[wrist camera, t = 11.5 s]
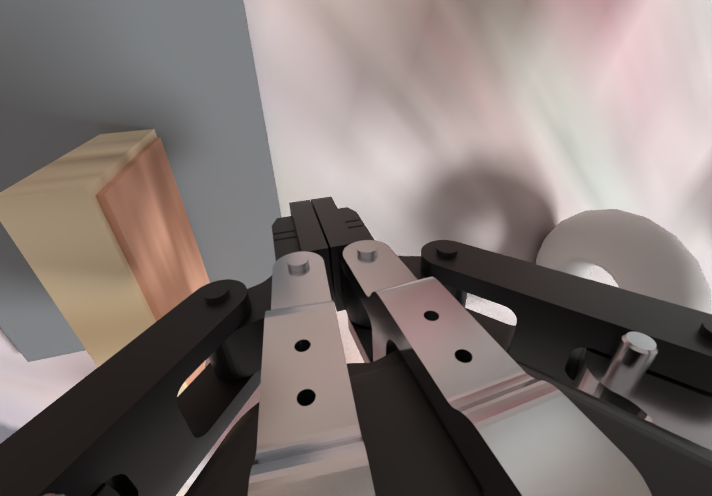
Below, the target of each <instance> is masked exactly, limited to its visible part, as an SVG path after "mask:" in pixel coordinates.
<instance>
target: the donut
mask: <svg viewBox="0 0 712 496" xmlns="http://www.w3.org/2000/svg"><path fill="white" fill-rule="evenodd" d="M536 265H540V266H543V267H547V268H550V269H554V270H557V271H561V272H564V273H568V274H571V275H575V276H579V277H582V278H586V279H589V280H590V278H591V273H592V270H593V268H594V266H596V265H597V266H600V267H602V268H603V269H604V270H606V271H607V272H608V273H609V274H610V275H611V276H612V277H613V279H614V280H615V281H616V283H617V284H618V286H619V288H621V289H624V290H628V291H631V292H635V293H639V294H642V295H646V296H649V297H653V298H656V299H660V300H663V301H667V302H670V303H674V304H677V305H681V306H684V307H688V308H691V309H695V310H698V311H702V312H706V313H709V314H712V300H711V290H710V288H709V285H708V283H707V281H706V279H705V277H704V274H703V272H702V270H701V268H700V265H699V263H698V261H697V260H696V259H695V257H694V256H693V255H692V254H691V253H690V252H689V251H688V250H687V248H686V247H685V246H684V245H683V244H682V243H681V242H680V240H679V239H678V238H677V237H676V236H675V235H673V234H672V233H670V232H668V231H667V230H665V229H664V228H662V227H661V226H659V225H657V224H656V223H654V222H653V221H651V220H650V219H647V218H645V217H643V216H639V215H635V214H632V213H628V212H625V211H621V210H617V209H608V210H591V211H584V212H581V213H579V214H577V215H574V216H572V217H570V218H568V219H566V220H563V221H561V222H560V223H559V224H558V225H557V226H556V227H555V228H554V229H553V230H552V231H551V232H550V233H549V234H548V235H547V236H546V237H545V239H544V241H543V243H542V245H541V248H540V250H539V252H538V254H537V258H536Z"/></svg>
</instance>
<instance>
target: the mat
mask: <svg viewBox="0 0 712 496" xmlns="http://www.w3.org/2000/svg"><path fill="white" fill-rule="evenodd" d="M148 129H155V132H156V135H157V138H160V137H161V140H162V143H163V146H164V149H165V152H166V155H167V158H168V161H169V164H170V167H171V170H172V173H173V175H174V178H175V181H176V184H177V187H178V190H179V193H180V196H181V199H182V202H183V205H184V208H185V211H186V213H187V216H188V219H189V222H190V225H191V228H192V231H193V234H194V237H195V240H196V243H197V246H198V249H199V251H200V254H201V257H202V260H203V263H204V266H205V269H206V272H207V275H208V278H209V281H210V283H211V282H214V281H218V280H226V279H231V280H237V281H240V282H242V283H243V284H244V285H245V286H246V288H247V289H248V288H251V287H253V286H256V285H258V284H260V283H262V282H264V281H265V280H267V279H268V278H269V277H270V276H272V270H273V265H274V263H275V262H276V259H275V250H274V242H273V234H272V225H273V223H274V222H275V220H276V219H277V218H281V212H280V207H279V201H278V195H277V190H276V184H275V178H274V173H273V167H272V161H271V156H270V150H269V144H268V139H267V133H266V127H265V122H264V116H263V110H262V105H261V99H260V93H259V88H258V82H257V76H256V71H255V65H254V59H253V54H252V48H251V42H250V37H249V31H248V25H247V20H246V14H245V8H244V3H243V0H0V192H2V191H4V190H5V189H7V188H9V187H11V186H12V185H14V184H16V183H17V182H19V181H21V180H22V179H24V178H26V177H28V176H29V175H31V174H33V173H34V172H36V171H38V170H40V169H41V168H43V167H45V166H46V165H48V164H50V163H52V162H53V161H55V160H57V159H58V158H60V157H62V156H64V155H65V154H67V153H69V152H70V151H72V150H74V149H76V148H77V147H79V146H81V145H82V144H84V143H86V142H88V141H89V140H91V139H93V138H94V137H96V136H98V135H99V134H107V133H117V132H127V131H137V130H148ZM0 328H1V329H2V330H3V332H4V333H5V334H6V335H7V336H8V338H9V339H10V340H11V341H12V343H13V344H14V345H15V346H16V348H17V349H18V350H19V351H20V352H21V354H22V355H23V356H24V357H25V359H26V360H27V361H28V362H30V361H35V360H40V359H45V358H50V357H55V356H60V355H65V354H69V353H74V352H79V351H84V350H86V349H85V347H84V346H83V344H82V343H81V341H80V340H79V338H78V337H77V335H76V334H75V332H74V331H73V329H72V328H71V326H70V325H69V323H68V322H67V320H66V319H65V317H64V316H63V314H62V313H61V311H60V310H59V308H58V307H57V305H56V304H55V302H54V301H53V299H52V298H51V297H50V295H49V294H48V292H47V291H46V289H45V288H44V286H43V285H42V283H41V282H40V280H39V279H38V277H37V276H36V274H35V273H34V271H33V270H32V268H31V267H30V265H29V264H28V262H27V261H26V259H25V258H24V256H23V255H22V253H21V252H20V250H19V249H18V247H17V246H16V244H15V243H14V241H13V240H12V238H11V237H10V235H9V234H8V232H7V231H6V229H5V228H4V226H3V225H2V223H1V222H0Z"/></svg>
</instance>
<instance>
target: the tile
mask: <svg viewBox="0 0 712 496" xmlns="http://www.w3.org/2000/svg"><path fill="white" fill-rule="evenodd" d="M0 222H1V223H2V225H3V226H4V228H5V229H6V231H7V232H8V234H9V235H10V237H11V238H12V240H13V241H14V243H15V244H16V246H17V247H18V249H19V250H20V252H21V253H22V255H23V256H24V258H25V259H26V261H27V262H28V264H29V265H30V267H31V268H32V270H33V271H34V273H35V274H36V276H37V277H38V279H39V280H40V282H41V283H42V285H43V286H44V288H45V289H46V291H47V292H48V294H49V295H50V297H51V298H52V299H53V301H54V302H55V304H56V305H57V307H58V308H59V310H60V311H61V313H62V314H63V316H64V317H65V319H66V320H67V322H68V323H69V325H70V326H71V328H72V329H73V331H74V332H75V334H76V335H77V337H78V338H79V340H80V341H81V343H82V344H83V346H84V347H85V349H86V350H87V352H88V353H89V355H90V356H91V358H92V359H93V361H94V362H95V364H96V365H97V367H99V366H100V365H102V364H103V363H104V362H106V361H107V360H108V359H109V358H111V357H112V356H113V355H114V354H116V353H117V352H118V351H120V350H121V349H122V348H123V347H125V346H126V345H127V344H129V343H130V342H131V341H132V340H134V339H135V338H136V337H137V336H139V335H140V334H141V333H143V332H144V331H145V330H146V329H148V328H149V327H150V326H151V325H153V324H154V323H155V322H157V321H158V320H159V319H160V318H162V317H163V316H164V315H165V314H167V313H168V312H169V311H171V310H172V309H173V308H174V307H176V306H177V305H178V304H180V303H181V302H182V301H183V300H185V299H186V298H187V297H188V296H190V295H191V294H192V293H194V292H195V291H196V290H198V289H199V288H201V287H202V286H204V285H206V284H209V283H210V281H209V278H208V275H207V272H206V269H205V266H204V263H203V260H202V257H201V254H200V251H199V249H198V246H197V243H196V240H195V237H194V234H193V231H192V228H191V225H190V222H189V219H188V216H187V213H186V211H185V208H184V205H183V202H182V199H181V196H180V193H179V190H178V187H177V184H176V181H175V178H174V175H173V173H172V170H171V167H170V164H169V161H168V158H167V155H166V152H165V149H164V146H163V143H162V140H161V137H160V138H157V135H156V132H155V129H148V130H137V131H127V132H117V133H107V134H99V135H98V136H96V137H94V138H93V139H91V140H89V141H88V142H86V143H84V144H82V145H81V146H79V147H77V148H76V149H74V150H72V151H70V152H69V153H67V154H65V155H64V156H62V157H60V158H58V159H57V160H55V161H53V162H52V163H50V164H48V165H46V166H45V167H43V168H41V169H40V170H38V171H36V172H34V173H33V174H31V175H29V176H28V177H26V178H24V179H22V180H21V181H19V182H17V183H16V184H14V185H12V186H11V187H9V188H7V189H5V190H4V191H2V192H0ZM205 364H206V360H205V361H204V362H203V363H202V364H201V365H200V366H199V367H198V368H197V370H196V371H195V372H194V373H193V374H192V375H191V376H190V377H189V378H188V379H187V380H186V381H185V382H184V383H183V385H182V386H181V388H180V390H179V392H178V395H177V397H178V396H179V395H180V394H181V393H182V392H183V391H184V390H185V389H186V387H187V386H188V385H189V384H190V383H191V382H192V381H193V380H194V379H195V378H196V377H197V376H198V375H199V374H200V373H201V372H202V371H203V370H204V369H205Z"/></svg>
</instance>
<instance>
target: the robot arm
mask: <svg viewBox="0 0 712 496" xmlns="http://www.w3.org/2000/svg"><path fill="white" fill-rule="evenodd" d="M289 204H290V211H291V216H289V217H283V218H277V219H276V220H275V222H274V223H273V225H272V234H273V242H274V250H275V259H276V262H275V263H274V265H273V270H272V276H270V277H269V278H268V279H267V280H265V281H264V282H262V283H260V284H258V285H256V286H253V287H251V288H248V289H247V288H246V286H245V285H244V284H243V283H242V282H240V281H237V280H231V279H226V280H218V281H214V282H211V283H209V284H206V285H204V286H202V287H201V288H199V289H198V290H196V291H195V292H194V293H192V294H191V295H190V296H188V297H187V298H186V299H185V300H183V301H182V302H181V303H180V304H178V305H177V306H176V307H174V308H173V309H172V310H171V311H169V312H168V313H167V314H165V315H164V316H163V317H162V318H160V319H159V320H158V321H157V322H155V323H154V324H153V325H151V326H150V327H149V328H148V329H146V330H145V331H144V332H143V333H141V334H140V335H139V336H137V337H136V338H135V339H134V340H132V341H131V342H130V343H129V344H127V345H126V346H125V347H123V348H122V349H121V350H120V351H118V352H117V353H116V354H114V355H113V356H112V357H111V358H109V359H108V360H107V361H106V362H104V363H103V364H102V365H100V366H99V367H98V368H97V369H95V370H94V371H93V372H92V373H90V374H89V375H88V376H86V377H85V378H84V379H83V380H81V381H80V382H79V383H78V384H76V385H75V386H74V387H72V388H71V389H70V390H69V391H67V392H66V393H65V394H63V395H62V396H61V397H60V398H58V399H57V400H56V401H55V402H53V403H52V404H51V405H49V406H48V407H47V408H46V409H44V410H43V411H42V412H41V413H39V414H38V415H37V416H35V417H34V418H33V419H32V420H30V421H29V422H28V423H27V424H25V425H24V426H23V427H21V428H20V429H19V430H18V431H16V432H15V433H14V434H12V435H11V436H10V437H9V438H7V439H6V440H5V441H4V442H2V443H1V444H0V496H176V494H177V493H178V492H179V490H180V489H181V488H182V486H183V485H184V484H185V482H186V481H187V480H188V478H189V477H190V476H191V474H192V473H193V472H194V471H195V469H196V468H197V467H198V465H199V464H200V463H201V461H202V460H203V459H204V457H205V456H206V455H207V453H208V452H209V451H210V449H211V448H212V447H213V445H214V444H215V443H216V441H217V440H218V439H219V437H220V436H221V435H222V433H223V432H224V431H225V430H226V428H227V427H228V426H229V424H230V423H231V422H232V420H233V419H234V418H235V416H236V415H237V414H238V412H239V411H240V410H241V408H242V407H243V406H244V404H245V403H246V402H247V400H248V399H249V398H250V396H251V395H252V394H253V392H254V391H255V390H256V389H257V387H258V386H259V385H260V401H259V403H257V404H256V405H255V406H254V407H252V408H251V409H250V410H249V411H248V412H247V413H246V414H245V415H243V416H242V417H241V418H240V420H239V421H238V422H237V423H236V424H235V425H234V426H233V428H232V429H231V430H230V431H229V433H228V434H227V435H226V437H225V438H224V440H223V441H222V443H221V444H220V445H219V447H218V448H217V450H216V451H215V453H214V454H213V455H212V457H211V458H210V460H209V461H208V463H207V464H206V465H205V467H204V468H203V470H202V471H201V473H200V474H199V475H198V477H197V478H196V480H195V481H194V483H193V484H192V485H191V487H190V488H189V490H188V491H187V493H186V494H185V495H184V496H712V314H709V313H706V312H702V311H698V310H695V309H691V308H688V307H684V306H681V305H677V304H674V303H670V302H667V301H663V300H660V299H656V298H653V297H649V296H646V295H642V294H639V293H635V292H631V291H628V290H624V289H621V288H617V287H614V286H610V285H607V284H603V283H600V282H596V281H593V280H589V279H586V278H582V277H579V276H575V275H571V274H568V273H564V272H561V271H557V270H554V269H550V268H547V267H543V266H540V265H536V264H533V263H529V262H526V261H522V260H519V259H515V258H512V257H508V256H504V255H501V254H497V253H494V252H490V251H487V250H483V249H480V248H476V247H473V246H469V245H466V244H462V243H459V242H455V241H449V240H438V241H433V242H430V243H427V244H426V245H424V246H423V248H422V250H421V257H419V256H397V255H396V254H395V253H394V252H393V250H392V249H391V248H390V247H389V246H388V245H386V244H385V243H383V242H380V241H375V240H374V239H373V237H372V236H371V234H370V232H369V231H368V229H367V228H366V226H365V225H364V223H363V222H362V220H361V218H360V217H359V215H358V214H357V212H355V211H353V210H351V209H349V208H348V207H347V208H340V209H338V208H337V207H336V205H335V203H334V201H333V199H332V197H325V198H319V199H312V200H311V202H310V200H306V201H299V202H292V203H289ZM467 293H470V294H473V295H476V296H478V297H481V298H484V299H487V300H490V301H492V302H495V303H498V304H501V305H503V306H506V307H508V308H509V309H511V310H512V311H513V312H514V314H515V315H516V318H517V324H516V326H512V325H508V324H505V323H503V322H500V321H498V320H495V319H493V318H490V317H487V316H485V315H482V314H480V313H477V312H474V311H472V310H469V309H467V308H465V304H466V298H467ZM334 303H335V305H334ZM335 306H336V309H337V311H342V310H346V311H347V314H348V325H349V330H350V332H351V334H352V337H353V339H354V341H355V343H356V345H357V347H358V349H359V352H360V354H361V356H362V358H363V360H364V362H365V363H350V364H346V359H345V354H344V349H343V344H342V339H341V335H340V330H339V325H338V320H337V315H336V310H335ZM208 357H209V360H210V363H209V364H208V365H207V367H206V368H205V369H204V370H203V371H202V372H201V373H200V374H199V375H198V376H197V377H196V378H195V379H194V380H193V381H192V382H191V383H190V384H189V385H188V386H187V387H186V389H185V390H184V391H183V392H182V393H181V394H180V395H179V396H178V397H177V395H178V392H179V390H180V388H181V386H182V385H183V383H184V382H185V381H186V380H187V379H188V378H189V377H190V376H191V375H192V374H193V373H194V372H195V371H196V370H197V368H198V367H199V366H200V365H201V364H202V363H203V362H204V361H205V360H206V359H207V358H208ZM260 383H261V384H260Z"/></svg>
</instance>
